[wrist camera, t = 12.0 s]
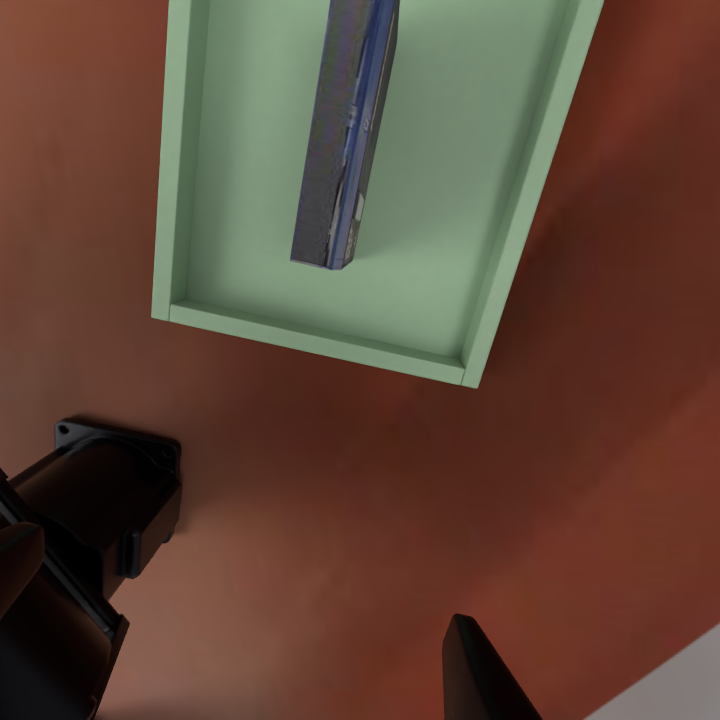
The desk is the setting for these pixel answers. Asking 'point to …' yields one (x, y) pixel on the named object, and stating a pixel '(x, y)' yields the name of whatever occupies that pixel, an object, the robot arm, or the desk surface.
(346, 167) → the mini dv tape
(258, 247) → the tray
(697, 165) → the desk surface
